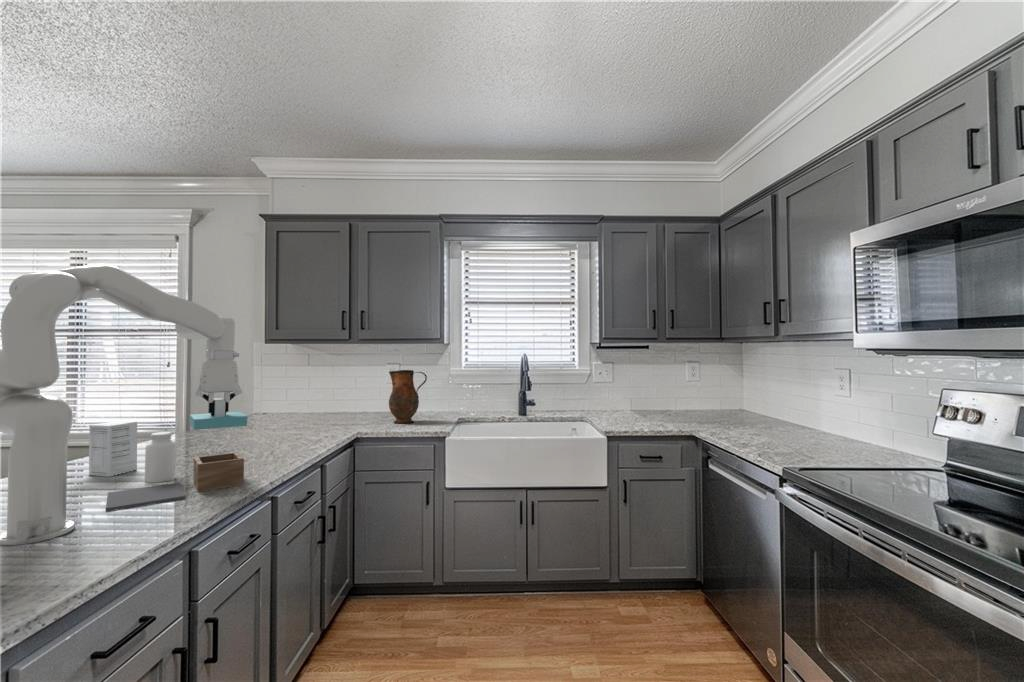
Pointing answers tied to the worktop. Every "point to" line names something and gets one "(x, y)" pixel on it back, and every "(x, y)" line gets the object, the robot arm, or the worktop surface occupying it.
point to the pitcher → (403, 396)
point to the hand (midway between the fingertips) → (218, 414)
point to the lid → (218, 418)
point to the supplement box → (112, 448)
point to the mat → (144, 496)
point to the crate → (218, 471)
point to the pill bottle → (160, 458)
